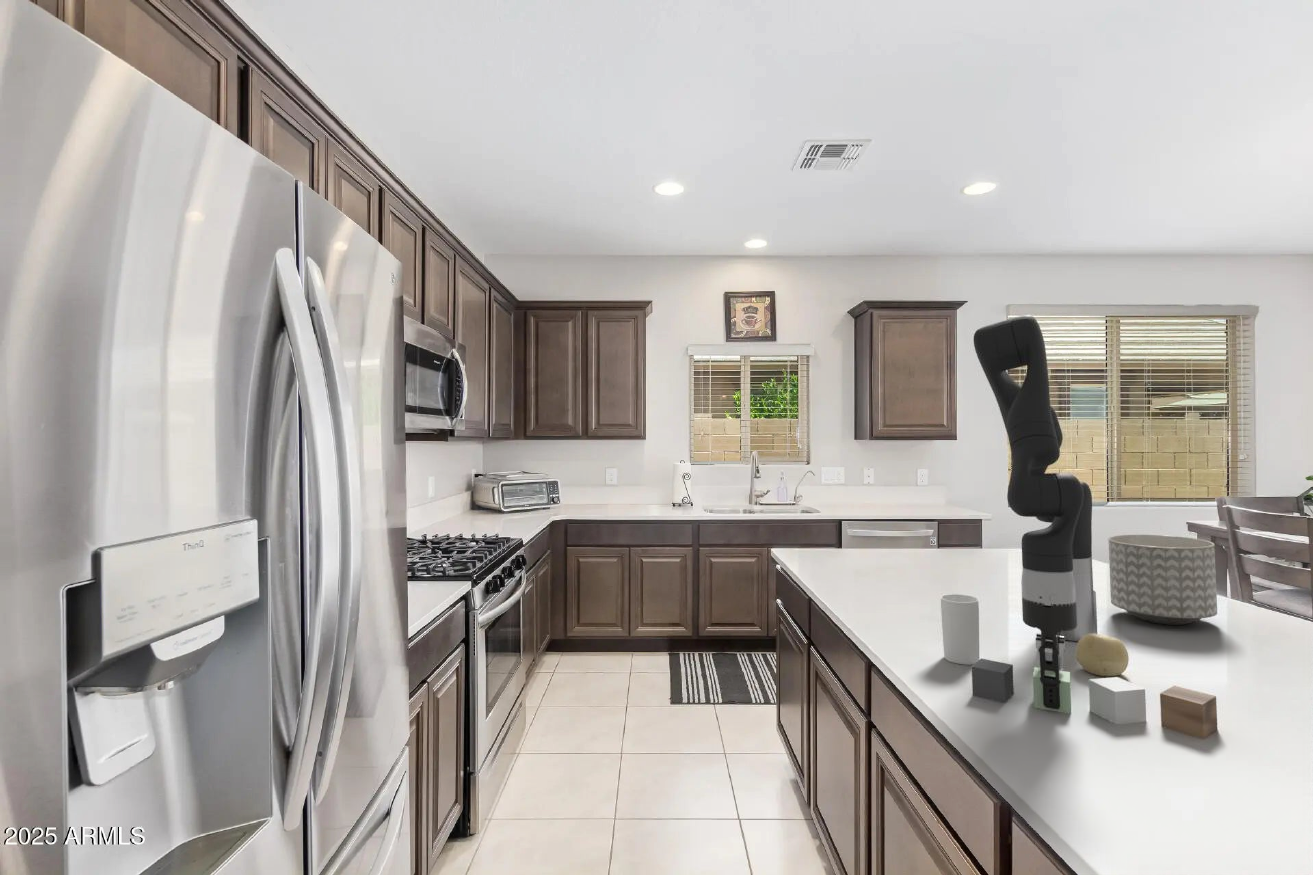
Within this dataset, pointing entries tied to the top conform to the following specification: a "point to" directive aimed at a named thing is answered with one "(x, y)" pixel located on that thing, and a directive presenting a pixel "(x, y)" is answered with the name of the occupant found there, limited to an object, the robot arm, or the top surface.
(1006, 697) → the charcoal block
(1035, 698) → the sage block
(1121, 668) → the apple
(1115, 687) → the grey block
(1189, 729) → the walnut block
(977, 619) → the mug
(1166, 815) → the top surface
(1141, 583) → the planter
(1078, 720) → the top surface
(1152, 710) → the top surface
